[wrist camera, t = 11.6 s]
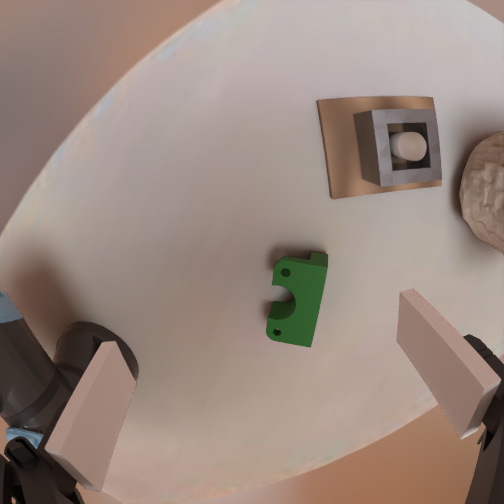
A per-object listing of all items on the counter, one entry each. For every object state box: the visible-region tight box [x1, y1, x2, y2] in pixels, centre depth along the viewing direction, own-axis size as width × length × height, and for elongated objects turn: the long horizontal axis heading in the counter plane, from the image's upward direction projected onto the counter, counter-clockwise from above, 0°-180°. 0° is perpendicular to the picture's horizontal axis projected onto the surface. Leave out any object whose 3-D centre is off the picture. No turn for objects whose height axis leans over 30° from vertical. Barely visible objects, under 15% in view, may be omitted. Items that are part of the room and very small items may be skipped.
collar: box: [353, 109, 442, 187], centre depth 31 cm, size 8×8×6 cm
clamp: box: [266, 252, 328, 347], centre depth 39 cm, size 12×6×9 cm, turn 169°
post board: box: [317, 97, 442, 199], centre depth 31 cm, size 16×12×8 cm
